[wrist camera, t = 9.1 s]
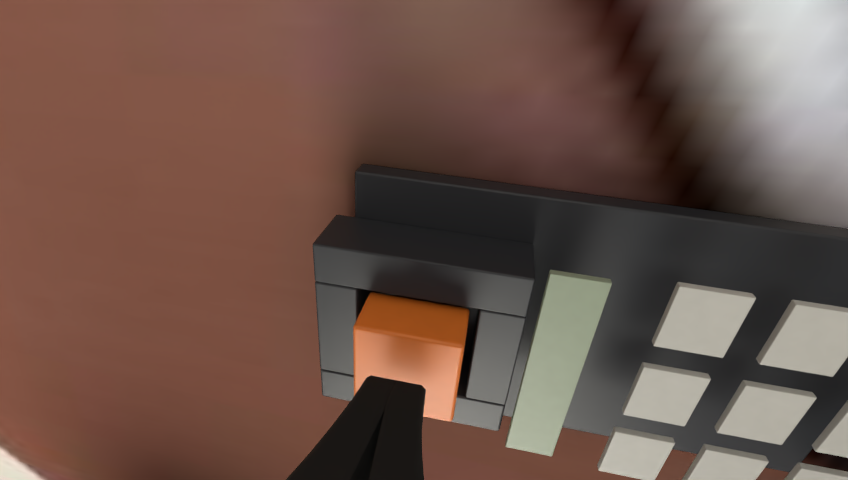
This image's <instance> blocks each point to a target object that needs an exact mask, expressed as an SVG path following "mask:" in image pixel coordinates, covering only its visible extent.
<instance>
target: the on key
mask: <svg viewBox="0 0 848 480" xmlns="http://www.w3.org/2000/svg"><path fill="white" fill-rule="evenodd" d="M469 313H470V312H469V309H467V308H463V307H457V306H451V305H445V304H440V303H434V302H428V301H422V300H416V299H410V298H404V297H399V296H393V295H387V294H381V293H375V292H371V293H370V294H369V296H368V298H367V300H366V302H365V304H364V306H363V308H362V310H361V312H360V314H359V316H358V318H357V320H356V322H355V324H354V326H353V349H354V396H355V394H356V393H357V391H358V390H359V388H360V387H361V385H362V384H363V382H364V380H365V379H366V378H367V377H369V376H371V375H372V376H377V377H382V378H387V379H392V380H398V381H403V382H408V383H413V384H418V385H422V386H423V387H424V388H425V389H426V394H425V404H424V413H423V416H424V417H429V418H434V419H439V420H444V421H452V420H453V417H454V411H455V405H456V398H457V392H458V386H459V379H460V373H461V367H462V360H463V354H464V348H465V341H466V334H467V327H468V320H469Z"/></svg>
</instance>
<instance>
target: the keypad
mask: <svg viewBox="0 0 848 480" xmlns="http://www.w3.org/2000/svg"><path fill="white" fill-rule="evenodd" d="M611 285H612V282H611V279H608V278H601V277H595V276H589V275H582V274H576V273H569V272H563V271H557V270H550V271H549V275H548V279H547V283H546V287H545V291H544V294H543V298H542V302H541V306H540V310H539V314H538V318H537V322H536V326H535V329H534V333H533V337H532V341H531V345H530V349H529V353H528V357H527V361H526V364H525V368H524V372H523V376H522V380H521V384H520V388H519V392H518V396H517V399H516V403H515V407H514V411H513V415H512V419H511V423H510V427H509V431H508V434H507V438H506V447H509V448H514V449H519V450H523V451H528V452H533V453H538V454H543V455H548V456H552V455H553V452H554V449H555V446H556V443H557V440H558V437H559V434H560V432H561V429H562V426H563V423H564V420H565V417H566V414H567V412H568V409H569V406H570V403H571V400H572V397H573V394H574V391H575V389H576V386H577V383H578V380H579V377H580V374H581V371H582V368H583V366H584V363H585V360H586V357H587V354H588V351H589V348H590V345H591V343H592V340H593V337H594V334H595V331H596V328H597V325H598V322H599V320H600V317H601V314H602V311H603V308H604V305H605V302H606V299H607V297H608V294H609V291H610V288H611ZM755 300H756V297H755V296H754V295H753V294H752V293H747V292H741V291H734V290H728V289H721V288H715V287H708V286H702V285H695V284H689V283H682V282H677V284H676V286H675V288H674V291H673V293H672V295H671V298H670V300H669V302H668V304H667V307H666V309H665V311H664V314H663V316H662V318H661V320H660V323H659V325H658V327H657V330H656V332H655V334H654V336H653V339H652V343H653V346H656V347H662V348H668V349H674V350H679V351H685V352H691V353H697V354H703V355H708V356H714V357H720V358H723V357H724V355H725V353H726V352H727V350H728V348H729V346H730V344H731V343H732V341H733V339H734V337H735V335H736V334H737V332H738V330H739V328H740V327H741V325H742V323H743V321H744V319H745V318H746V316H747V314H748V312H749V310H750V309H751V307H752V305H753V303H754V302H755ZM847 357H848V308H845V307H838V306H832V305H825V304H819V303H812V302H806V301H799V300H791V302H790V304H789V305H788V307H787V309H786V310H785V312H784V313H783V315H782V317H781V318H780V320H779V322H778V323H777V325H776V327H775V328H774V330H773V331H772V333H771V335H770V336H769V338H768V340H767V341H766V343H765V345H764V346H763V348H762V349H761V351H760V353H759V354H758V356H757V358H756V360H757V361H758V363H759V364H761V365H767V366H772V367H778V368H784V369H790V370H796V371H801V372H807V373H813V374H819V375H825V376H830V377H833V376H834V375H835V373H836V372H837V371H838V369H839V368H840V367H841V365H842V364H843V363H844V361H845V360H846V359H847ZM710 380H711V378H710V376H709V374H707V373H702V372H696V371H691V370H685V369H679V368H674V367H668V366H662V365H657V364H651V363H645V362H642V364H641V366H640V368H639V371H638V373H637V375H636V378H635V380H634V382H633V384H632V387H631V389H630V391H629V394H628V396H627V398H626V400H625V403H624V405H623V407H622V412H623V415H627V416H632V417H638V418H643V419H648V420H653V421H658V422H664V423H669V424H674V425H679V426H685V425H686V423H687V421H688V420H689V418H690V416H691V414H692V412H693V411H694V409H695V407H696V405H697V403H698V402H699V400H700V398H701V396H702V395H703V393H704V391H705V389H706V387H707V386H708V384H709V382H710ZM816 399H817V397H816V396H815V395H814V393H813V392H809V391H804V390H798V389H792V388H787V387H781V386H775V385H770V384H764V383H758V382H753V381H747V380H743V381H742V382H741V384H740V385H739V387H738V389H737V390H736V392H735V394H734V395H733V397H732V399H731V400H730V402H729V404H728V405H727V407H726V408H725V410H724V412H723V413H722V415H721V417H720V418H719V420H718V422H717V423H716V425H715V429H716V432H717V433H721V434H726V435H732V436H737V437H742V438H747V439H752V440H758V441H763V442H768V443H773V444H778V445H782V444H783V443H784V441H785V440H786V439H787V437H788V436H789V435H790V433H791V432H792V431H793V429H794V428H795V427H796V425H797V424H798V423H799V421H800V420H801V419H802V417H803V416H804V415H805V413H806V412H807V411H808V409H809V408H810V407H811V405H812V404H813V403H814V401H815V400H816ZM674 445H675V442H674V439H673V438H672V437H667V436H662V435H657V434H652V433H646V432H641V431H636V430H631V429H626V428H621V427H616V426H614V428H613V430H612V432H611V435H610V437H609V439H608V442H607V444H606V446H605V448H604V451H603V453H602V455H601V458H600V460H599V462H598V465H597V466H598V470H599V471H604V472H608V473H613V474H618V475H623V476H628V477H632V478H637V479H642V480H655V479H656V477H657V475H658V473H659V471H660V470H661V468H662V466H663V464H664V462H665V461H666V459H667V457H668V455H669V454H670V452H671V450H672V448H673V446H674ZM812 447H813V448H814V450H815V451H816V452H820V453H825V454H831V455H836V456H841V457H846V458H848V401H847V402H846V403H845V404H844V406H843V407H842V408H841V409H840V411H839V412H838V413H837V414H836V415H835V417H834V418H833V419H832V420H831V422H830V423H829V424H828V425H827V427H826V428H825V429H824V430H823V432H822V433H821V434H820V435H819V437H818V438H817V439H816V440H815V442H814V443H813V444H812ZM768 463H769V461H768V459H767V457H766V456H764V455H759V454H754V453H749V452H744V451H739V450H734V449H728V448H723V447H718V446H713V445H708V444H703V446H702V448H701V449H700V451H699V453H698V454H697V456H696V458H695V459H694V461H693V462H692V464H691V466H690V467H689V469H688V471H687V472H686V474H685V476H684V477H683V479H682V480H756V479H757V477H758V476H759V475H760V473H761V472H762V471H763V469H764V468H765V467H766V465H767V464H768ZM784 480H848V472H846V471H841V470H836V469H831V468H826V467H821V466H816V465H810V464H805V463H800V462H798V463H797V464H796V465H795V466H794V468H793V469H792V470H791V471H790V473H789V474H788V475H787V476H786V478H785V479H784Z"/></svg>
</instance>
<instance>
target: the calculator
mask: <svg viewBox="0 0 848 480" xmlns="http://www.w3.org/2000/svg"><path fill="white" fill-rule="evenodd" d="M313 256H314V272H315V281H316V282H315V287H316V303H317V319H318V334H319V350H320V366H321V380H322V394H323V395H324V396H328V397H332V398H337V399H342V400H347V401H351V400H352V399H353V397H354V349H353V326H354V324H355V322H356V320H357V318H358V316H359V314H360V312H361V310H362V308H363V306H364V304H365V302H366V300H367V298H368V296H369V294H370V293H371V292H375V293H381V294H387V295H393V296H399V297H404V298H410V299H416V300H422V301H428V302H434V303H440V304H445V305H451V306H457V307H463V308H467V309H469V312H470V313H469V320H468V327H467V334H466V341H465V348H464V354H463V360H462V367H461V373H460V379H459V386H458V392H457V398H456V405H455V411H454V417H453V420H452V421H451V422H456V423H461V424H466V425H470V426H475V427H480V428H485V429H490V430H495V431H499V429H500V425H501V421H502V417H503V415H504V416H509V417H512V415H513V411H514V407H515V403H516V399H517V396H518V392H519V388H520V384H521V380H522V376H523V372H524V368H525V364H526V361H527V357H528V353H529V349H530V345H531V341H532V337H533V333H534V329H535V326H536V322H537V318H538V314H539V310H540V306H541V302H542V298H543V294H544V291H545V287H546V283H547V279H548V275H549V271H550V270H557V271H563V272H569V273H576V274H582V275H589V276H595V277H601V278H608V279H611V282H612V285H611V288H610V291H609V294H608V297H607V299H606V302H605V305H604V308H603V311H602V314H601V317H600V320H599V322H598V325H597V328H596V331H595V334H594V337H593V340H592V343H591V345H590V348H589V351H588V354H587V357H586V360H585V363H584V366H583V368H582V371H581V374H580V377H579V380H578V383H577V386H576V389H575V391H574V394H573V397H572V400H571V403H570V406H569V409H568V412H567V414H566V417H565V420H564V423H563V426H562V427H564V428H569V429H574V430H579V431H584V432H589V433H594V434H600V435H605V436H610V435H611V432H612V430H613V428H614V426H616V427H621V428H626V429H631V430H636V431H641V432H646V433H652V434H657V435H662V436H667V437H672V438H673V439H674V442H675V445H674V446H673V448H672V449H675V450H680V451H685V452H690V453H695V454H698V453H699V451H700V449H701V448H702V446H703V444H708V445H713V446H718V447H723V448H728V449H734V450H739V451H744V452H749V453H754V454H759V455H764V456H766V457H767V459H768V461H769V463H768V464H767V465H766V468H771V469H776V470H781V471H786V472H790V471H791V470H792V469H793V468H794V466H795V465H796V464H797V463H798V462H800V463H801V462H802V461H803V460H804V458H805V457H806V456H807V455H808V453H809V452H810V451H811V450H812V449H813V447H812V444H813V443H814V442H815V440H816V439H817V438H818V437H819V435H820V434H821V433H822V432H823V430H824V429H825V428H826V427H827V425H828V424H829V423H830V422H831V420H832V419H833V418H834V417H835V415H836V414H837V413H838V412H839V411H840V409H841V408H842V407H843V406H844V404H845V403H846V402H847V401H848V357H847V359H846V360H845V361H844V363H843V364H842V365H841V367H840V368H839V369H838V371H837V372H836V373H835V375H834V376H833V377H830V376H825V375H819V374H813V373H807V372H801V371H796V370H790V369H784V368H778V367H772V366H767V365H761V364H759V363H758V361H757V360H756V358H757V356H758V354H759V353H760V351H761V349H762V348H763V346H764V345H765V343H766V341H767V340H768V338H769V336H770V335H771V333H772V331H773V330H774V328H775V327H776V325H777V323H778V322H779V320H780V318H781V317H782V315H783V313H784V312H785V310H786V309H787V307H788V305H789V304H790V302H791V300H799V301H806V302H812V303H819V304H825V305H832V306H838V307H845V308H848V229H843V228H836V227H828V226H821V225H813V224H806V223H799V222H791V221H784V220H776V219H769V218H761V217H754V216H746V215H739V214H732V213H724V212H717V211H709V210H702V209H694V208H687V207H679V206H672V205H665V204H657V203H650V202H642V201H635V200H627V199H620V198H612V197H605V196H598V195H590V194H583V193H575V192H568V191H560V190H553V189H545V188H538V187H531V186H523V185H516V184H508V183H501V182H493V181H486V180H479V179H471V178H464V177H456V176H449V175H441V174H434V173H426V172H419V171H412V170H404V169H397V168H389V167H382V166H374V165H367V164H362V165H361V166H360V167H359V168H358V169H357V170H356V172H355V217H349V216H342V215H336V216H335V217H334V219H333V220H332V221H331V222H330V224H329V225H328V226H327V227H326V228H325V230H324V231H323V232H322V233H321V235H320V236H319V237H318V238H317V239H316V241H315V242H314V243H313ZM677 282H682V283H689V284H695V285H702V286H708V287H715V288H721V289H728V290H734V291H741V292H747V293H752V294H753V295H754V296H755V297H756V300H755V302H754V303H753V305H752V307H751V309H750V310H749V312H748V314H747V316H746V318H745V319H744V321H743V323H742V325H741V327H740V328H739V330H738V332H737V334H736V335H735V337H734V339H733V341H732V343H731V344H730V346H729V348H728V350H727V352H726V353H725V355H724V357H723V358H720V357H714V356H708V355H703V354H697V353H691V352H685V351H679V350H674V349H668V348H662V347H656V346H653V343H652V339H653V336H654V334H655V332H656V330H657V327H658V325H659V323H660V320H661V318H662V316H663V314H664V311H665V309H666V307H667V304H668V302H669V300H670V298H671V295H672V293H673V291H674V288H675V286H676V284H677ZM642 362H645V363H651V364H657V365H662V366H668V367H674V368H679V369H685V370H691V371H696V372H702V373H707V374H709V376H710V378H711V380H710V382H709V384H708V386H707V387H706V389H705V391H704V393H703V395H702V396H701V398H700V400H699V402H698V403H697V405H696V407H695V409H694V411H693V412H692V414H691V416H690V418H689V420H688V421H687V423H686V425H685V426H679V425H674V424H669V423H664V422H658V421H653V420H648V419H643V418H638V417H632V416H627V415H623V412H622V407H623V405H624V403H625V400H626V398H627V396H628V394H629V391H630V389H631V387H632V384H633V382H634V380H635V378H636V375H637V373H638V371H639V368H640V366H641V364H642ZM743 380H747V381H753V382H758V383H764V384H770V385H775V386H781V387H787V388H792V389H798V390H804V391H809V392H813V393H814V395H815V396H816V397H817V399H816V400H815V401H814V403H813V404H812V405H811V407H810V408H809V409H808V411H807V412H806V413H805V415H804V416H803V417H802V419H801V420H800V421H799V423H798V424H797V425H796V427H795V428H794V429H793V431H792V432H791V433H790V435H789V436H788V437H787V439H786V440H785V441H784V443H783V444H782V445H778V444H773V443H768V442H763V441H758V440H752V439H747V438H742V437H737V436H732V435H726V434H721V433H717V432H716V429H715V425H716V423H717V422H718V420H719V418H720V417H721V415H722V413H723V412H724V410H725V408H726V407H727V405H728V404H729V402H730V400H731V399H732V397H733V395H734V394H735V392H736V390H737V389H738V387H739V385H740V384H741V382H742V381H743Z"/></svg>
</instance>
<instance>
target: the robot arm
mask: <svg viewBox="0 0 848 480" xmlns="http://www.w3.org/2000/svg"><path fill="white" fill-rule="evenodd" d="M425 394H426V389H425V388H424V387H423V386H422V385H418V384H413V383H408V382H403V381H398V380H392V379H387V378H382V377H377V376H372V375H371V376H369V377H367V378H366V379H365V380H364V382H363V384H362V385H361V387H360V388H359V390H358V391H357V393H356V394H355V396H354V397H353V399H352V400H351V401H350V403H349V404H348V405H347V407H346V408H345V410H344V411H343V412H342V414H341V415H340V416H339V417H338V419H337V420H336V421H335V423H334V424H333V425H332V427H331V428H330V429H329V430H328V431H327V433H326V434H325V435H324V436H323V438H322V439H321V440H320V441H319V442H318V444H317V445H316V446H315V447H314V449H313V450H312V451H311V452H310V453H309V454H308V456H307V457H306V458H305V459H304V460H303V461H302V462H301V464H300V465H299V466H298V467H297V468H296V469H295V470H294V471H293V472H292V473H291V475H290V476H289V477H288V478H287V479H286V480H424V475H423V461H422V422H423V413H424V404H425Z"/></svg>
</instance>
